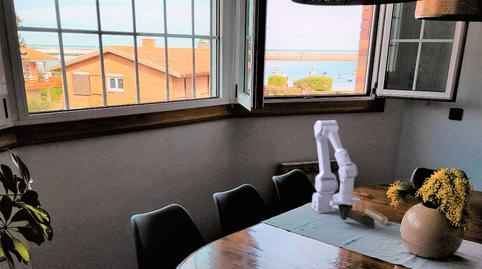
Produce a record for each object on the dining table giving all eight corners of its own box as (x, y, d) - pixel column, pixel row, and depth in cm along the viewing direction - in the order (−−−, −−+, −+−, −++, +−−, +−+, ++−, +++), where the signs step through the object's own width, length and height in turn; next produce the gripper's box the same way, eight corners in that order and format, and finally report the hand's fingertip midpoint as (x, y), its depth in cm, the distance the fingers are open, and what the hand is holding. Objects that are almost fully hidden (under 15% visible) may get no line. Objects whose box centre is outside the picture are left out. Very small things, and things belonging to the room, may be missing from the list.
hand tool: (339, 214, 172) (340, 205, 171) (345, 212, 174) (346, 203, 173) (369, 230, 155) (370, 220, 154) (376, 229, 157) (377, 219, 156)
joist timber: (381, 224, 162) (382, 218, 161) (365, 213, 173) (365, 208, 172) (387, 223, 162) (387, 218, 162) (370, 212, 174) (370, 207, 173)
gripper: (336, 195, 154) (334, 224, 156) (365, 192, 158) (362, 221, 160) (328, 189, 160) (326, 217, 163) (356, 187, 164) (353, 214, 167)
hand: (343, 219), depth 162 cm, fingers closed
